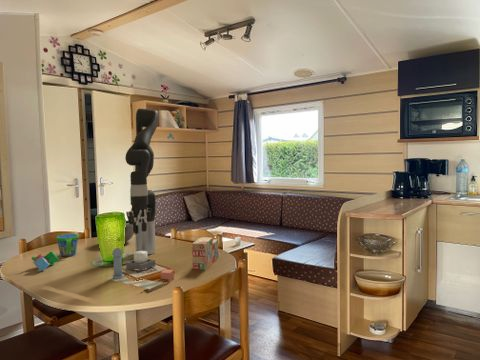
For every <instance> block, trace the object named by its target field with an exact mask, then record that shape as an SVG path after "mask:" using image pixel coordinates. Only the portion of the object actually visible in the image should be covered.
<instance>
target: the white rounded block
mask: <svg viewBox="0 0 480 360" xmlns="http://www.w3.org/2000/svg"><path fill="white" fill-rule="evenodd" d="M148 255H149V254H148ZM148 255H147V251H136V250H135V251H134V252H133V260H134V263H137V264H143V263H146V262H148V259H149V258H148Z"/></svg>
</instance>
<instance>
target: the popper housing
mask: <svg viewBox="0 0 480 360" xmlns="http://www.w3.org/2000/svg"><path fill="white" fill-rule="evenodd" d="M125 266H126V267H125V269H127V270H131V269H139V270H142V269H145V268H149V267H152V266H155V267H156V259H152V258H148V262H146V263H143V264H137V263H134V259H132V260H129V261H126V263H125ZM152 268H153V267H152ZM149 269H150V268H149Z"/></svg>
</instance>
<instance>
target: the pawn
mask: <svg viewBox="0 0 480 360" xmlns="http://www.w3.org/2000/svg"><path fill="white" fill-rule="evenodd" d="M111 253H112V256H113V257H112V258H113V274H112V277H113V279H121V278H123V277H124V275H125V273H123V264H122V262H123V261H122V260H123V259H122V257H123V249H122V248H120V247H116V248H114V249H113V250H112V252H111ZM123 279H124V278H123ZM121 280H122V279H121Z"/></svg>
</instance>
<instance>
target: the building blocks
mask: <svg viewBox="0 0 480 360" xmlns="http://www.w3.org/2000/svg"><path fill="white" fill-rule="evenodd" d="M31 260H32V261H33V263H34V265H35V266H36V268H37V269H38V270H40V271H41V272H42V271H44V270H45V269H47V268H48V267H49V266H50V265H52V266H53V265H54V264H55V263H57V262H58V261H59V260H60V258H59V257H58V256H57V255H56V254H55V253H54V252H53V251H49V252H48V253H47V254H45V255H43V254H41V253H40V254H38V255H36V256H32V257H31Z"/></svg>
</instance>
